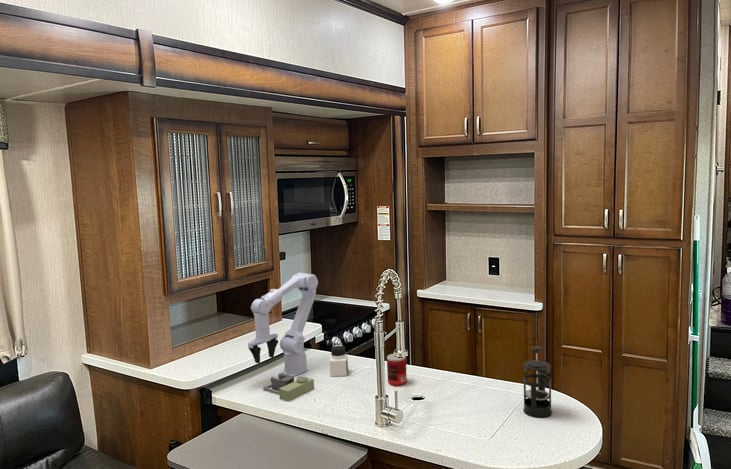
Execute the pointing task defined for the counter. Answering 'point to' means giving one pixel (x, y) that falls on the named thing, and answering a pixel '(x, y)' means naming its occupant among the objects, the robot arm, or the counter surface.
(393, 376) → the canned food
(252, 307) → the robot arm
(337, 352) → the medicine bottle
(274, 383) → the chute
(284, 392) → the grey frame stand
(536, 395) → the french press
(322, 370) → the counter surface
